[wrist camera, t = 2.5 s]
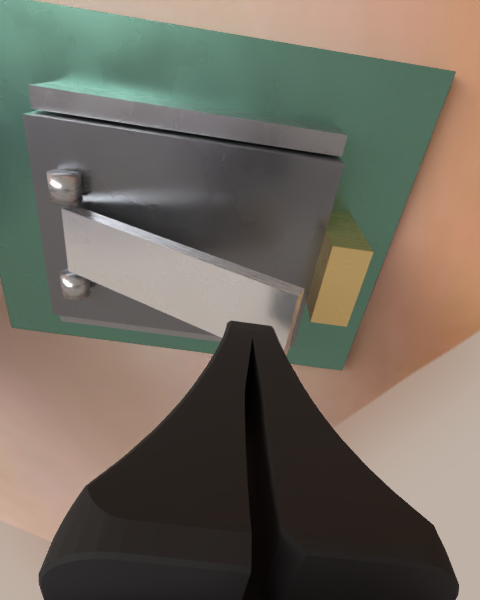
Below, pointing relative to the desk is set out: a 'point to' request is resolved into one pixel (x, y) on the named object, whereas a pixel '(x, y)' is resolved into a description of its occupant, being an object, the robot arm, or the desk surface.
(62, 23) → the circuit board
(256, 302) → the grey flat bar
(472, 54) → the desk surface
